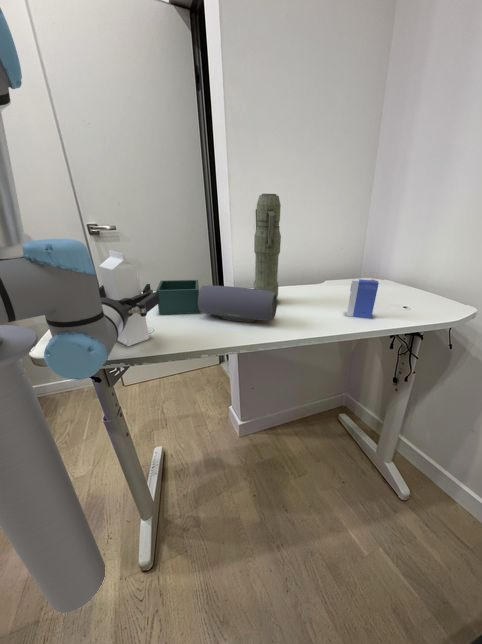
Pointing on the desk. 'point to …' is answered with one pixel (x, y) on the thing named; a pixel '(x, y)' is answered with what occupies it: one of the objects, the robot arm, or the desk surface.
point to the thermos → (267, 243)
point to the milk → (124, 294)
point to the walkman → (362, 298)
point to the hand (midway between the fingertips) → (127, 289)
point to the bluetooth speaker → (237, 303)
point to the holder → (178, 297)
